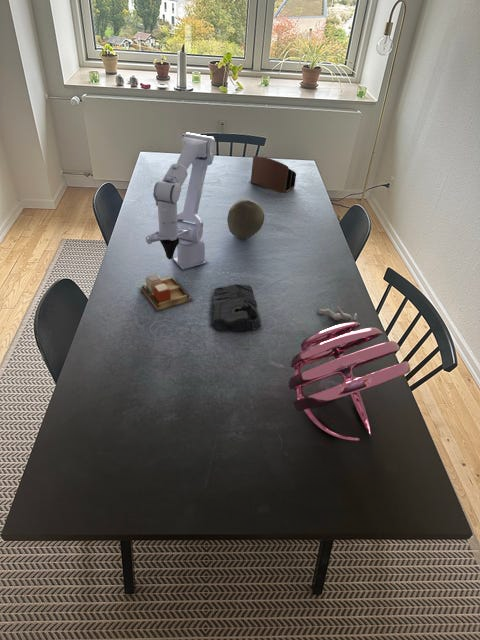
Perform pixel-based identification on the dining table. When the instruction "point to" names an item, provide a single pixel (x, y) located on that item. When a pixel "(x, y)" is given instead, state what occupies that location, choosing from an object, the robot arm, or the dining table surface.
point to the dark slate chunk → (235, 308)
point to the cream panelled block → (153, 281)
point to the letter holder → (272, 175)
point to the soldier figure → (337, 314)
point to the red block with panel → (161, 292)
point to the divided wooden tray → (176, 294)
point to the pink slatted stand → (341, 369)
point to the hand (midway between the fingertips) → (169, 257)
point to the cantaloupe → (245, 218)
